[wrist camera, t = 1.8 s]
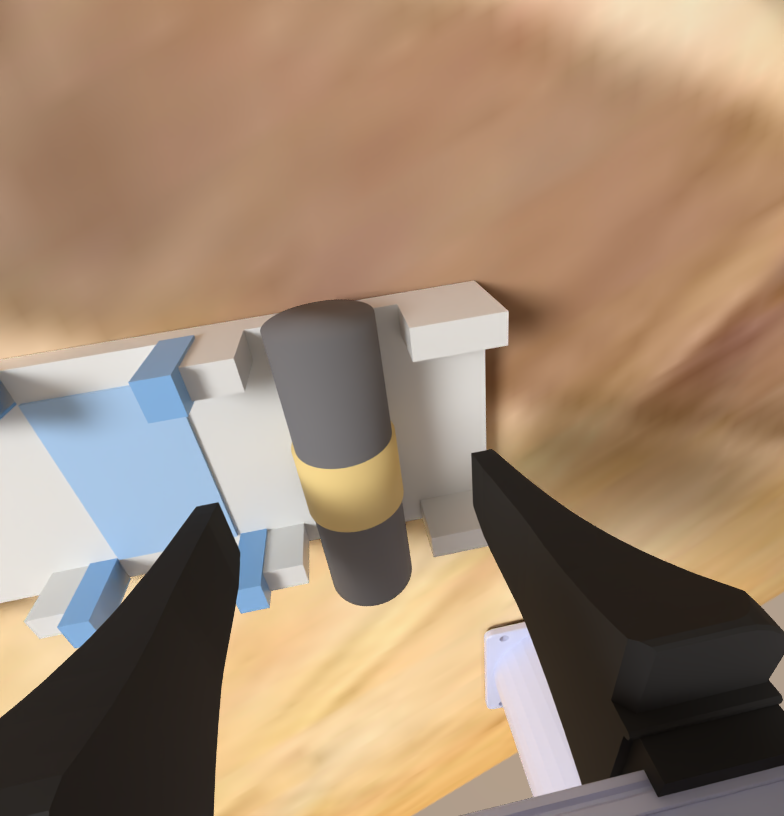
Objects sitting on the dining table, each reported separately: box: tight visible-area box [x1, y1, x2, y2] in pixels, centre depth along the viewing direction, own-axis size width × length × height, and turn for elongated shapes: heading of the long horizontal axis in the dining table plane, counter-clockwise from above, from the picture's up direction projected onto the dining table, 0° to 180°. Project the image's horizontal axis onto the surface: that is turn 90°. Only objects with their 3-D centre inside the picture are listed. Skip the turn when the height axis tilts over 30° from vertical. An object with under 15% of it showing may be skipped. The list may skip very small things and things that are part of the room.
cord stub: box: [260, 300, 412, 606], centre depth 14 cm, size 10×3×3 cm, turn 7°
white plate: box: [0, 281, 509, 648], centre depth 15 cm, size 24×9×4 cm, turn 97°
